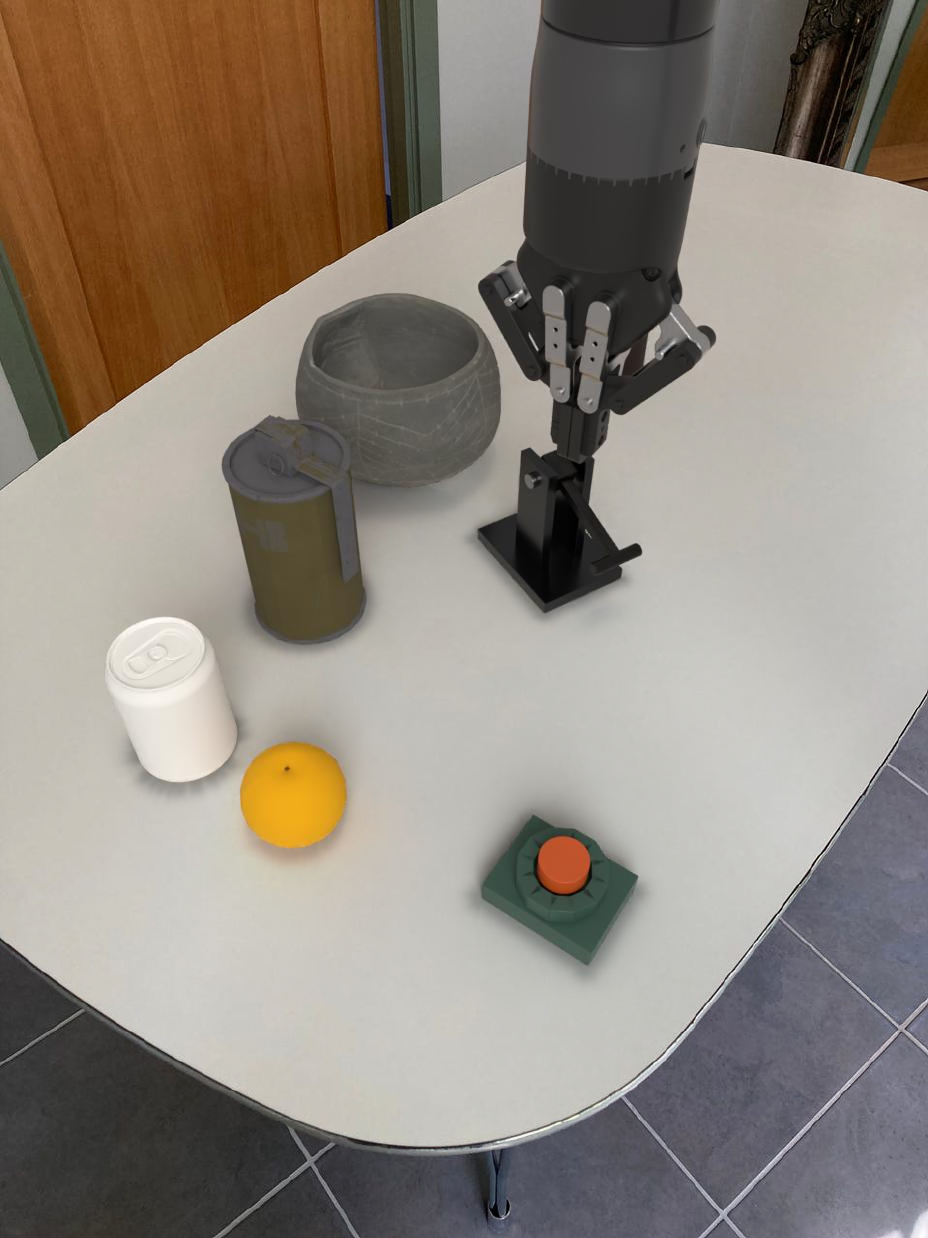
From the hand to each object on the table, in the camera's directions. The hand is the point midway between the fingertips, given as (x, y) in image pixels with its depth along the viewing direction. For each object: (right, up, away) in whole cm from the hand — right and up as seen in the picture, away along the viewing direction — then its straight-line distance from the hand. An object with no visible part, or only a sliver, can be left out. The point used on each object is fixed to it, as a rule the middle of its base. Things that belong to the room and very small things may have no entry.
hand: (577, 452), depth 54 cm
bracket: (+2, -3, +40) cm, 40 cm away
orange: (-19, -25, +20) cm, 38 cm away
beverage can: (-29, -20, +25) cm, 43 cm away
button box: (+1, -30, +16) cm, 34 cm away
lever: (+4, 0, +31) cm, 32 cm away
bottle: (+12, +20, +61) cm, 66 cm away
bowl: (-13, +8, +50) cm, 52 cm away
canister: (-21, -8, +36) cm, 42 cm away
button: (+1, -27, +13) cm, 31 cm away
